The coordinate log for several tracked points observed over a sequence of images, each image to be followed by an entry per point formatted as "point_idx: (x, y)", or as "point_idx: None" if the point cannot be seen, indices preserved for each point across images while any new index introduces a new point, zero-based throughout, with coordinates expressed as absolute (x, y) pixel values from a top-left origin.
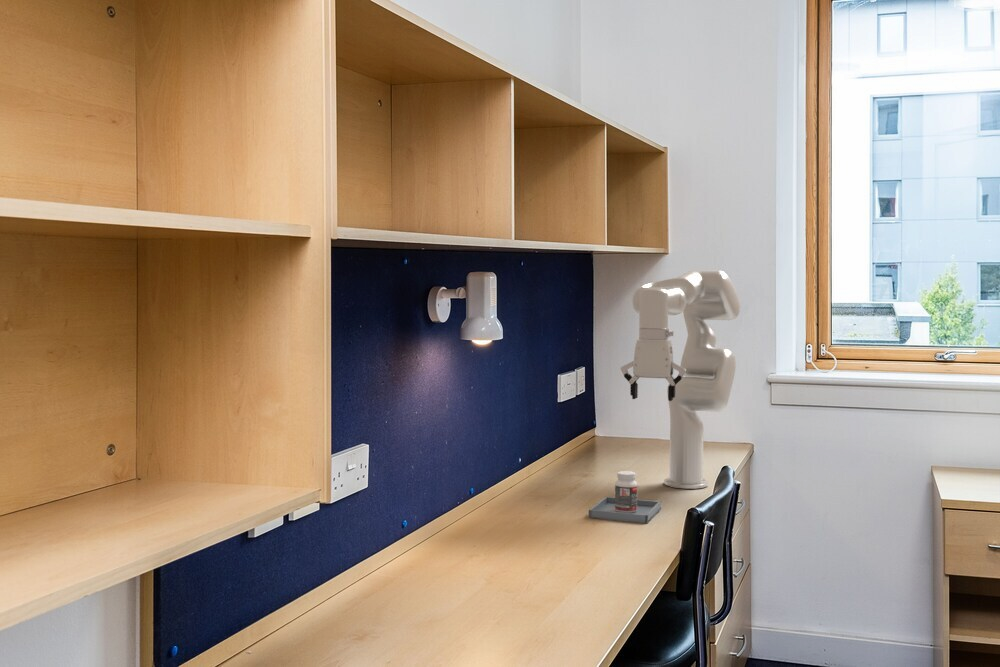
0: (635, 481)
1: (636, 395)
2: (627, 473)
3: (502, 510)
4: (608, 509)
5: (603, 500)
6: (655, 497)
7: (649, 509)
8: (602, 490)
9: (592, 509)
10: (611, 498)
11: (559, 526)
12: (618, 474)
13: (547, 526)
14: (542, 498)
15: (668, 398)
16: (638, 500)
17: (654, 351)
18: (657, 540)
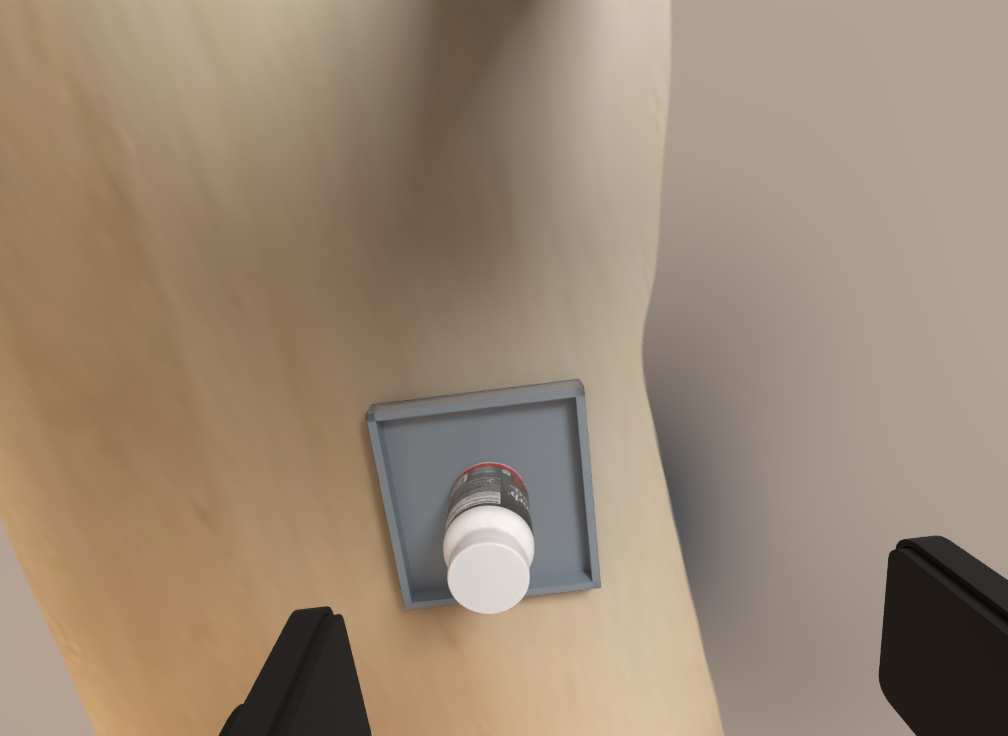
0: (525, 544)
1: (343, 701)
2: (497, 590)
3: (130, 635)
4: (429, 503)
5: (386, 471)
6: (497, 200)
7: (555, 438)
8: (247, 185)
9: (410, 596)
10: (392, 417)
11: (380, 704)
12: (462, 603)
13: None
14: (130, 436)
15: (906, 716)
16: (498, 405)
17: None
18: (672, 702)
